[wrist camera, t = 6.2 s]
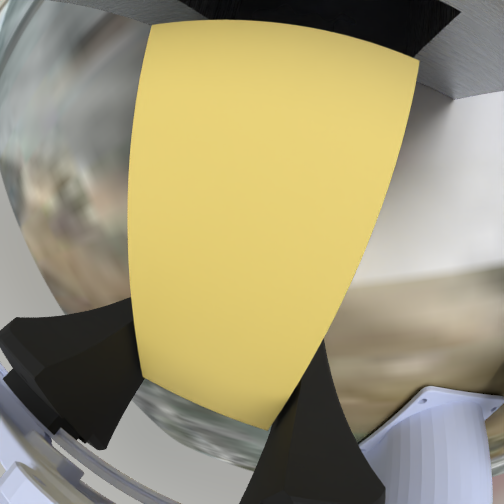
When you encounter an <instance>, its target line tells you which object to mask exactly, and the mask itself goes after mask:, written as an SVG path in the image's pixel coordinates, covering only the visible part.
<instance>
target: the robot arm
mask: <svg viewBox="0 0 504 504" xmlns="http://www.w3.org/2000/svg"><path fill="white" fill-rule="evenodd" d="M0 348H1V350H2V351H3V353H4V355H5V356H6V358H7V359H8V361H9V363H10V364H11V366H12V367H13V369H12V370H11V371H10V372H9V373H8V372H7V371H6V369H5V368H4V367H3V366H2V364H1V363H0V462H1V463H2V465H3V467H4V468H5V469H6V471H5V473H4V474H3V475H2V477H1V478H0V504H116V503H114V502H112V501H110V500H109V499H107V498H106V497H104V496H103V495H101V494H100V493H98V492H97V491H95V490H94V489H92V488H91V487H89V486H88V485H87V484H85V483H84V482H82V481H81V480H80V479H81V477H82V476H83V475H84V472H83V471H82V470H81V469H79V468H78V467H77V466H76V465H75V464H73V463H72V462H71V461H70V460H68V459H67V458H66V457H65V456H63V455H62V454H61V453H60V452H59V451H57V450H56V449H55V448H54V447H53V446H52V444H51V442H52V440H51V438H52V439H53V440H54V441H55V442H56V443H58V444H59V445H60V446H61V447H62V448H63V449H64V450H66V451H67V452H68V453H69V454H70V455H72V456H73V457H74V458H75V459H77V460H78V461H79V462H80V463H82V464H83V465H84V466H86V467H87V468H88V469H90V470H91V471H92V472H94V473H95V474H97V475H98V476H99V477H101V478H102V479H104V480H105V481H107V482H108V483H110V484H111V485H113V486H114V487H116V488H118V489H119V490H121V491H122V492H124V493H126V494H127V495H129V496H131V497H133V498H134V499H136V500H138V501H140V502H142V503H144V504H181V503H179V502H176V501H174V500H172V499H170V498H168V497H165V496H163V495H161V494H159V493H157V492H155V491H153V490H152V489H150V488H148V487H146V486H144V485H142V484H140V483H138V482H137V481H135V480H133V479H132V478H130V477H128V476H127V475H125V474H123V473H122V472H120V471H119V470H117V469H115V468H114V467H112V466H111V465H109V464H108V463H106V462H105V461H103V460H102V459H101V458H99V457H98V456H96V455H95V454H94V453H92V452H91V451H89V450H88V449H87V448H86V447H84V446H83V445H82V444H80V443H79V442H78V441H77V439H80V440H81V441H82V442H84V443H89V444H90V445H92V446H93V447H94V448H96V449H97V450H104V449H106V448H107V446H108V443H109V441H110V439H111V437H112V435H113V433H114V431H115V429H116V427H117V425H118V423H119V421H120V419H121V417H122V415H123V413H124V412H125V410H126V408H127V406H128V405H129V403H130V401H131V400H132V398H133V396H134V395H135V393H136V391H137V390H138V388H139V387H140V385H141V383H142V382H143V380H144V379H145V378H144V377H143V375H142V370H141V365H140V359H139V353H138V347H137V340H136V333H135V326H134V318H133V309H132V299H131V297H130V298H127V299H124V300H122V301H119V302H116V303H114V304H111V305H107V306H104V307H101V308H97V309H93V310H89V311H85V312H79V313H74V314H69V315H62V316H54V317H39V318H20V317H16V318H15V319H13V320H12V321H11V322H10V323H9V324H7V325H6V326H5V327H4V328H3V329H1V330H0ZM503 403H504V397H503V396H497V395H488V394H479V393H472V392H465V391H458V390H452V389H446V388H440V387H435V386H427V387H424V388H423V389H421V390H420V391H419V392H418V393H417V394H416V395H415V396H414V397H413V398H412V399H411V400H410V401H409V402H408V403H407V404H406V405H405V406H404V407H403V408H402V409H401V410H400V411H399V412H398V413H396V414H395V415H394V416H393V417H392V418H391V419H390V420H388V421H387V422H386V423H385V424H384V425H383V426H381V427H380V428H379V429H378V430H377V431H375V432H374V433H373V434H372V435H370V436H369V437H368V438H366V439H365V440H364V441H363V442H361V443H360V444H359V445H358V443H357V441H356V439H355V437H354V435H353V433H352V432H351V429H350V427H349V425H348V422H347V420H346V418H345V415H344V413H343V410H342V408H341V405H340V402H339V399H338V396H337V393H336V390H335V386H334V383H333V379H332V376H331V372H330V367H329V363H328V359H327V354H326V349H325V343H324V338H323V340H322V342H321V344H320V346H319V348H318V349H317V351H316V353H315V355H314V357H313V358H312V360H311V362H310V364H309V365H308V367H307V369H306V371H305V372H304V374H303V376H302V377H301V379H300V381H299V382H298V384H297V386H296V387H295V389H294V391H293V392H292V394H291V396H290V397H289V399H288V400H287V402H286V404H285V405H284V407H283V408H282V410H281V411H280V413H279V414H278V416H277V417H276V419H275V420H274V422H273V424H272V427H271V431H270V434H269V436H268V439H267V442H266V444H265V447H264V449H263V452H262V454H261V457H260V459H259V462H258V464H257V466H256V469H255V471H254V473H253V476H252V478H251V480H250V482H249V484H248V487H247V489H246V491H245V493H244V495H243V497H242V499H241V501H240V503H239V504H493V498H492V497H493V496H492V495H493V494H492V472H491V461H490V453H489V445H488V439H487V433H486V427H485V422H484V421H485V420H486V419H487V418H488V417H489V416H490V415H492V414H493V413H494V412H495V411H496V410H497V409H498V408H499V407H500V406H501V405H502V404H503ZM50 437H51V438H50Z"/></svg>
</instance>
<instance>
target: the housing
mask: <svg viewBox="0 0 504 504" xmlns="http://www.w3.org/2000/svg"><path fill="white" fill-rule="evenodd" d="M51 1H58V2H65V3H71V4H76V5H81V6H86V7H91V8H95V9H99V10H103V11H107V12H111V13H114V14H118V15H121V16H125V17H128V18H131V19H134V20H137V21H140V22H143V23H146V24H149V25H155V24H163V23H171V22H182V21H197V20H249V21H264V22H274V23H283V24H291V25H298V26H304V27H310V28H315V29H320V30H325V31H330V32H334V33H338V34H342V35H346V36H350V37H354V38H358V39H361V40H364V41H368V42H371V43H374V44H377V45H380V46H383V47H386V48H389V49H391V50H394V51H397V52H399V53H402V54H405V55H407V56H410V57H412V58H414V59H417V60H419V61H420V62H419V68H418V74H417V79H416V81H417V82H420V83H422V84H424V85H426V86H428V87H431V88H433V89H435V90H437V91H439V92H441V93H443V94H445V95H447V96H449V97H450V98H452V99H454V100H455V99H460V98H465V97H470V96H475V95H481V94H486V93H492V92H499V91H504V0H51Z"/></svg>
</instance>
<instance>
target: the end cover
mask: <svg viewBox="0 0 504 504" xmlns="http://www.w3.org/2000/svg"><path fill="white" fill-rule="evenodd" d="M419 62H420V61H419V60H417V59H414V58H412V57H410V56H407V55H405V54H402V53H399V52H397V51H394V50H391V49H389V48H386V47H383V46H380V45H377V44H374V43H371V42H368V41H364V40H361V39H358V38H354V37H350V36H346V35H342V34H338V33H334V32H330V31H325V30H320V29H315V28H310V27H304V26H298V25H291V24H283V23H274V22H264V21H249V20H197V21H182V22H171V23H163V24H155V25H152V27H151V31H150V35H149V38H148V43H147V47H146V51H145V56H144V60H143V65H142V70H141V75H140V81H139V86H138V92H137V99H136V105H135V112H134V120H133V129H132V138H131V149H130V162H129V180H128V257H129V274H130V288H131V299H132V309H133V318H134V326H135V333H136V340H137V347H138V353H139V359H140V365H141V370H142V375H143V377H144V378H146V379H148V380H150V381H151V382H153V383H155V384H157V385H159V386H161V387H163V388H165V389H167V390H169V391H171V392H173V393H175V394H177V395H179V396H181V397H183V398H185V399H187V400H189V401H192V402H194V403H196V404H198V405H201V406H203V407H205V408H207V409H210V410H212V411H215V412H217V413H220V414H222V415H225V416H227V417H230V418H232V419H235V420H238V421H240V422H243V423H246V424H249V425H252V426H255V427H258V428H261V429H264V430H267V431H268V429H269V428H270V426H271V425H272V423H273V422H274V420H275V419H276V417H277V416H278V414H279V413H280V411H281V410H282V408H283V407H284V405H285V404H286V402H287V400H288V399H289V397H290V396H291V394H292V392H293V391H294V389H295V387H296V386H297V384H298V382H299V381H300V379H301V377H302V376H303V374H304V372H305V371H306V369H307V367H308V365H309V364H310V362H311V360H312V358H313V357H314V355H315V353H316V351H317V349H318V348H319V346H320V344H321V342H322V340H323V338H324V336H325V334H326V333H327V331H328V329H329V327H330V325H331V323H332V321H333V319H334V317H335V315H336V313H337V311H338V309H339V307H340V305H341V303H342V301H343V298H344V296H345V294H346V292H347V290H348V288H349V286H350V283H351V281H352V279H353V277H354V274H355V272H356V270H357V268H358V265H359V263H360V261H361V258H362V256H363V254H364V251H365V249H366V246H367V244H368V241H369V239H370V236H371V234H372V231H373V229H374V226H375V223H376V221H377V218H378V215H379V213H380V210H381V207H382V204H383V201H384V199H385V196H386V193H387V190H388V187H389V184H390V181H391V178H392V174H393V171H394V168H395V165H396V161H397V158H398V155H399V151H400V148H401V144H402V140H403V137H404V133H405V129H406V125H407V121H408V117H409V113H410V108H411V104H412V99H413V95H414V90H415V85H416V79H417V74H418V68H419Z"/></svg>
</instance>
